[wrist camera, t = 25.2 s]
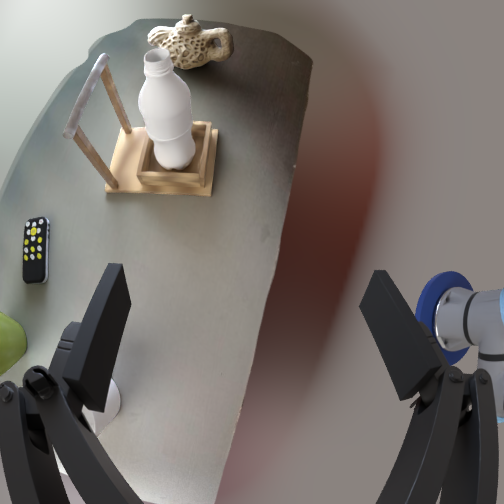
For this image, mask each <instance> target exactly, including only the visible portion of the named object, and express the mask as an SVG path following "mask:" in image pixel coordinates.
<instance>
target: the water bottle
mask: <svg viewBox="0 0 504 504" xmlns="http://www.w3.org/2000/svg"><path fill="white" fill-rule="evenodd" d="M144 64H145V67H144V74H145V76H147V78H146V81H145V83H144V85H143V87H142V90H141V92H140V95H139V110H140V112H141V114H142V116H143V119H144V122H145V125H146V131H147V134H148V136H149V138H150V139H151V140H153V142H154V153H155V157H156V159H157V161H158V163H159V164H160V165H161V166H162V167H163V168H165V169H167V170H172V168H175V169H176V170H183V169H184V168H186V167H187V166H189V165H190V163H191V161H192V159H193V157H194V155H195V142H194V140H193V139H192V136H191V128H192V125H193V116H192V113H191V94H190V90H189V88H188V86H187V85H186V83H185V82H184V81H183V80H182V79H181V78H180V77H179V76H177V75H176V74H175V73H174V72H173V68H174V65H173V63H172V60H171V59H170V52H169V51H168V50H167V49H164V48H157V49H153V50H151V51H149V52H147V53H146V54H145V56H144Z"/></svg>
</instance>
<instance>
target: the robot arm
mask: <svg viewBox="0 0 504 504" xmlns="http://www.w3.org/2000/svg"><path fill="white" fill-rule="evenodd" d="M359 307H360V310H361V312H362V314H363V316H364V318H365V320H366V322H367V324H368V327H369V329H370V331H371V333H372V335H373V338H374V339H375V342H376V344H377V346H378V349H379V351H380V353H381V356H382V358H383V360H384V363H385V365H386V367H387V370H388V372H389V374H390V377H391V379H392V382H393V384H394V386H395V389H396V392H397V394H398V396H399V399H400V401H402V400H406V399H409V398H412V397H413V396H414V395H415V394H416V393H417V392H418V391H419V393H420V397H419V398H417V400H415V401H414V402H413V403H412V404H411V406H410V408H412V407H413V406H414V405H415V404H416V406H415V408H414V413H413V416H412V419H411V422H410V425H409V428H408V431H407V434H406V436H405V439H404V442H403V445H402V447H401V450H400V452H399V455H398V457H397V460H396V462H395V464H394V467H393V469H392V471H391V474H390V476H389V478H388V480H387V482H386V485H385V486H384V488H383V490H382V493H381V494H380V496H379V498H378V500H377V502H376V504H436V501H437V499H438V496H439V493H440V490H441V488H442V491H441V498H440V504H496V498H497V487H498V466H499V465H498V464H499V450H498V448H499V447H498V427H497V423H502V422H504V288H503V289H498V290H490V291H482V292H474V291H471V290H468V289H465V288H462V287H451V288H448V289H446V290H444V291H443V292H442V293H441V295H440V296H439V297H438V299H437V301H436V304H435V306H434V310H433V315H432V332H433V334H432V333H431V331H430V329H429V328H428V327H427V326H426V325H425V324H424V323H423V322H422V321H419V322H418V321H417V319H416V317H415V316H414V314H413V312H412V311H411V309H410V307H409V306H408V304H407V302H406V301H405V299H404V298H403V296H402V295H401V293H400V291H399V290H398V288H397V287H396V285H395V284H394V282H393V281H392V279H391V278H390V276H389V275H388V273H387V272H386V271H385V270H375V271H374V273H373V275H372V278H371V280H370V282H369V285H368V287H367V289H366V292H365V294H364V296H363V299H362V301H361V303H360V305H359ZM130 308H131V300H130V296H129V291H128V287H127V283H126V278H125V274H124V269H123V264H116V263H108V265H107V267H106V269H105V271H104V274H103V276H102V278H101V280H100V282H99V284H98V286H97V288H96V290H95V293H94V295H93V297H92V299H91V301H90V304H89V306H88V308H87V311H86V313H85V315H84V318H83V320H82V322H81V323H79V322H71V323H70V324H69V325H68V326H67V327H66V328H65V329H64V331H63V334H62V336H61V340H60V341H59V343H58V346H57V348H56V351H55V353H54V356H53V359H52V361H51V364H50V367H49V369H48V370H47V369H46V368H45V367H43V366H34V367H31V368H30V369H28V370H27V372H26V373H25V374H24V377H23V387H19V388H18V387H17V386H16V385H15V384H14V383H13V382H11V381H5V382H3V383H1V384H0V451H1V457H2V463H3V468H4V472H5V477H6V482H7V486H8V490H9V494H10V498H11V501H12V504H70V502H69V500H68V497H67V494H66V491H65V488H64V485H63V482H62V479H61V476H60V472H59V469H58V465H57V462H56V458H55V454H54V450H53V447H54V449H55V451H56V453H57V455H58V457H59V459H60V461H61V463H62V465H63V467H64V468H65V470H66V472H67V474H68V476H69V477H70V479H71V481H72V483H73V484H74V486H75V488H76V489H77V491H78V492H79V494H80V496H81V497H82V499H83V500H84V501H85V503H86V504H144V503H143V502H142V501H141V499H140V498H139V497H138V496H137V494H136V493H135V492H134V491H133V489H132V488H131V487H130V486H129V484H128V483H127V482H126V480H125V479H124V478H123V476H122V475H121V473H120V472H119V471H118V469H117V468H116V466H115V465H114V463H113V462H112V460H111V459H110V457H109V456H108V454H107V453H106V451H105V450H104V448H103V447H102V445H101V443H100V442H99V440H98V438H97V437H96V435H95V433H94V432H93V430H92V428H91V426H90V425H89V423H88V421H87V419H86V417H85V415H84V414H83V412H82V408H83V404H84V406H85V407H86V408H87V409H88V410H91V411H96V412H101V413H104V411H105V405H106V401H107V396H108V391H109V386H110V382H111V378H112V373H113V369H114V365H115V361H116V357H117V353H118V349H119V346H120V342H121V338H122V335H123V331H124V328H125V324H126V321H127V317H128V314H129V311H130ZM433 336H434V337H433ZM472 345H476V346H479V353H478V366H477V370H476V371H475V372H474V373H473V374H463V373H462V371H461V370H460V369H459V368H457V367H455V366H450V365H449V363H448V361H447V359H446V358H445V356H444V354H443V352H442V350H445V351H451V352H454V351H458V350H461V349H464V348H466V347H469V346H472ZM441 349H442V350H441ZM471 404H472V410H471V411H469V406H470V405H471ZM52 445H53V446H52Z"/></svg>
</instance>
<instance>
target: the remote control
mask: <svg viewBox="0 0 504 504" xmlns="http://www.w3.org/2000/svg"><path fill="white" fill-rule="evenodd" d="M49 226H50V225H49V221H48V219H47V218H45V217H39V218H34V219H29V220H28V221H27V222H26V224H25V229H24V243H23V280H24V282H25V283H27V284H40V283H44V282H46V280H47V278H48V240H49Z"/></svg>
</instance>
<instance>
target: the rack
mask: <svg viewBox="0 0 504 504" xmlns="http://www.w3.org/2000/svg"><path fill="white" fill-rule="evenodd" d="M108 60H109V56H108V55H107V54H102V55H101V56H100V57H99V59H98V61H97V62H96V64H95V66H94V68H93V70H92V71H91V73H90V75H89V77H88V79H87V81H86V83H85V85H84V87H83V89H82V91H81V93H80V95H79V97H78V100H77V102H76V104H75V106H74V108H73V111H72V113H71V115H70V118H69V120H68V122H67V125H66V127H65V130H64V133H63V137H65V138H66V139H74V141H75V142H76V143H77V145H78V146H79V147H80V149H81V150H82V151H83V153H84V154H85V155H86V157H87V158H88V159H89V161H90V162H91V163H92V164H93V166H94V167H95V168H96V170H97V171H98V172H99V173H100V175H101V176H102V177H103V178H104V180H105V181H106V187H105V192H107V193H149V194H173V195H193V196H209V197H211V192H212V182H213V173H214V164H215V155H216V147H217V138H218V129H212V122H206V121H193V125H192V128H191V136H192V139H193V140H194V142H195V155H194V157H193V159H192V161H191V163H190V165H189V166H187V167H186V168H184V169H183V170H176V169H175V168H172V170H167V169H165V168H163V167H162V166H161V165H160V164H159V163H158V161H157V159H156V157H155V153H154V142H153V140H151V139H150V138H149V136H148V134H147V131H146V127H145V128H131V125H130V123H129V120H128V118H127V115H126V113H125V110H124V108H123V105H122V103H121V100H120V97H119V95H118V92H117V89H116V87H115V84H114V81H113V79H112V76H111V73H110V70H109V68H108V65H107V62H108ZM100 76H101V78H102V81H103V83H104V86H105V88H106V91H107V93H108V95H109V98H110V100H111V102H112V105H113V107H114V109H115V112H116V114H117V116H118V118H119V121H120V123H121V125H122V127H123V128H121V131H120V134H119V137H118V141H117V144H116V148H115V151H114V155H113V158H112V162H111V166H110V170H109V169H108V168H107V166H106V165H105V163H104V162H103V160H102V159H101V158H100V156H99V155H98V153H97V152H96V150H95V149H94V147H93V146H92V144H91V143H90V141H89V140H88V138H87V137H86V135H85V134H84V132H83V131H82V129H81V128H80V126H79V122H80V120H81V117H82V115H83V112H84V110H85V107H86V105H87V103H88V101H89V98H90V96H91V94H92V92H93V90H94V87H95V85H96V83H97V81H98V79H99V77H100Z"/></svg>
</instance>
